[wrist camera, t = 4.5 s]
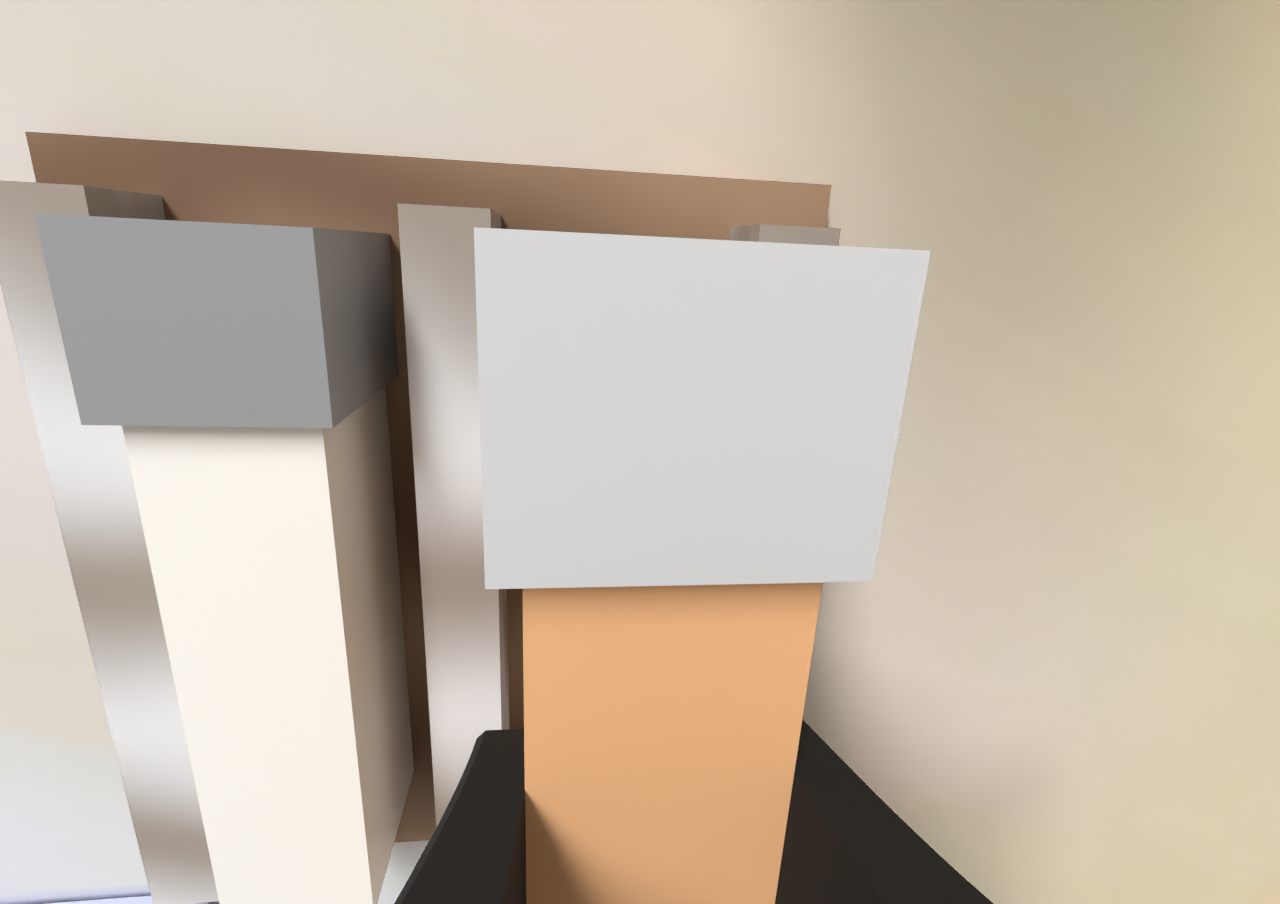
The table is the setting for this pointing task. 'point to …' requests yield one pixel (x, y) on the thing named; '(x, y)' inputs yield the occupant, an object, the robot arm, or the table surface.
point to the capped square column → (678, 531)
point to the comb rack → (416, 404)
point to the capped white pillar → (260, 523)
